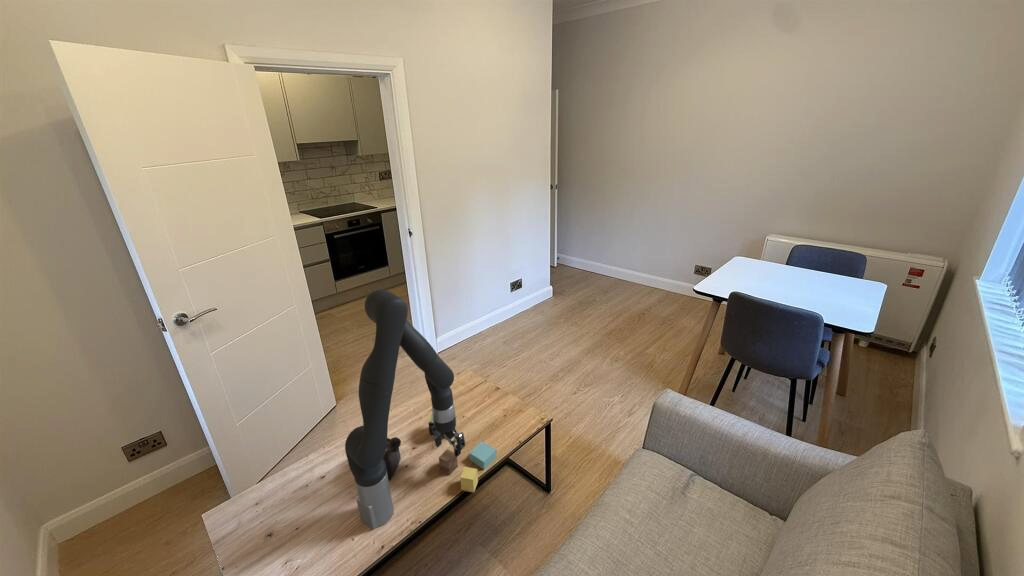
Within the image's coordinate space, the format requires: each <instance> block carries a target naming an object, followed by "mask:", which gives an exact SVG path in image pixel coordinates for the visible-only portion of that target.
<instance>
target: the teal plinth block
mask: <svg viewBox="0 0 1024 576" xmlns="http://www.w3.org/2000/svg"><path fill="white" fill-rule="evenodd" d="M497 454H498V452H497V449H496V448H495V447H493V446H491V445H489V444H487V443H486V442H484V441H483V440H482V441H480V443H478V445H476V446H475V447H474V448H473V449H472V450H471V451H470V452H469V461H470V462H472V463H473V464H475V465H477V466H478V467H479V468H481V469H482V470H486V469H487V468H488V467H489V466H490V465H491V464H492V463H493V462H494V461H495V460H496V459H497V457H498V456H497Z"/></svg>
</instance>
